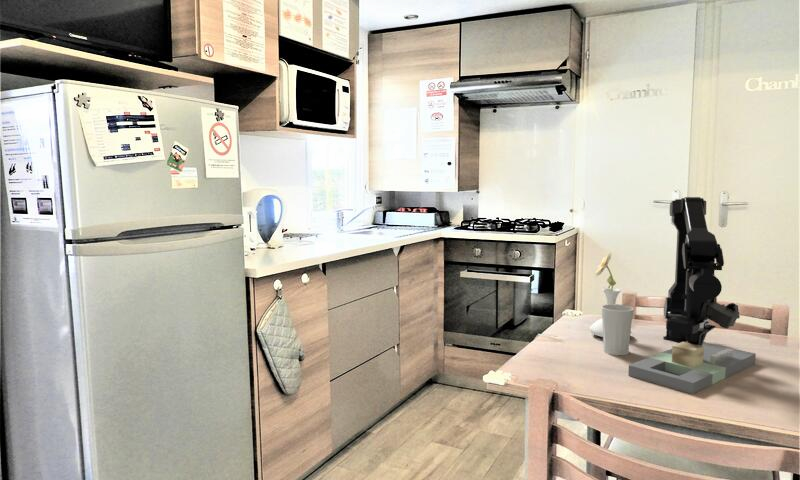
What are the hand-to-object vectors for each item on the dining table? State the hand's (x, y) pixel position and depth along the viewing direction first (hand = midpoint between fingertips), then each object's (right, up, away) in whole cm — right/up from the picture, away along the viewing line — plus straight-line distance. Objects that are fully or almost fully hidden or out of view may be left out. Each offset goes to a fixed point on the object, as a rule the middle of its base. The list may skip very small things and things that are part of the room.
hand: (695, 354), depth 142 cm
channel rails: (+3, -1, +2) cm, 3 cm away
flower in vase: (-11, -1, +28) cm, 30 cm away
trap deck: (-1, -4, 0) cm, 4 cm away
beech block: (-3, -1, -3) cm, 4 cm away
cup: (-14, -2, +14) cm, 20 cm away
